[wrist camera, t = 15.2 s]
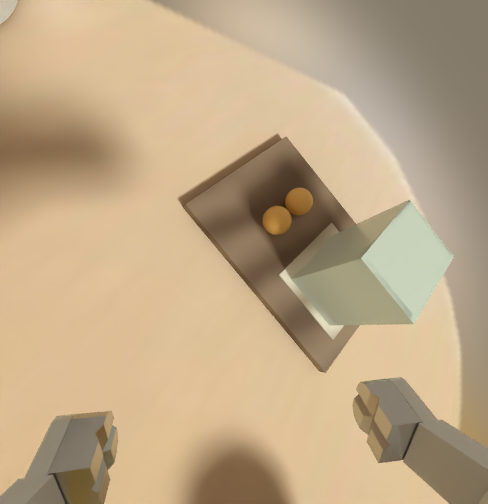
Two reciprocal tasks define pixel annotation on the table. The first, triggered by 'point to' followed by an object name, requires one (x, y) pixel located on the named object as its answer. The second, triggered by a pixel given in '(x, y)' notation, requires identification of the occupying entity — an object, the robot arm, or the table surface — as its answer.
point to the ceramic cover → (376, 270)
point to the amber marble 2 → (299, 201)
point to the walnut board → (276, 241)
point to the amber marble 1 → (277, 220)
